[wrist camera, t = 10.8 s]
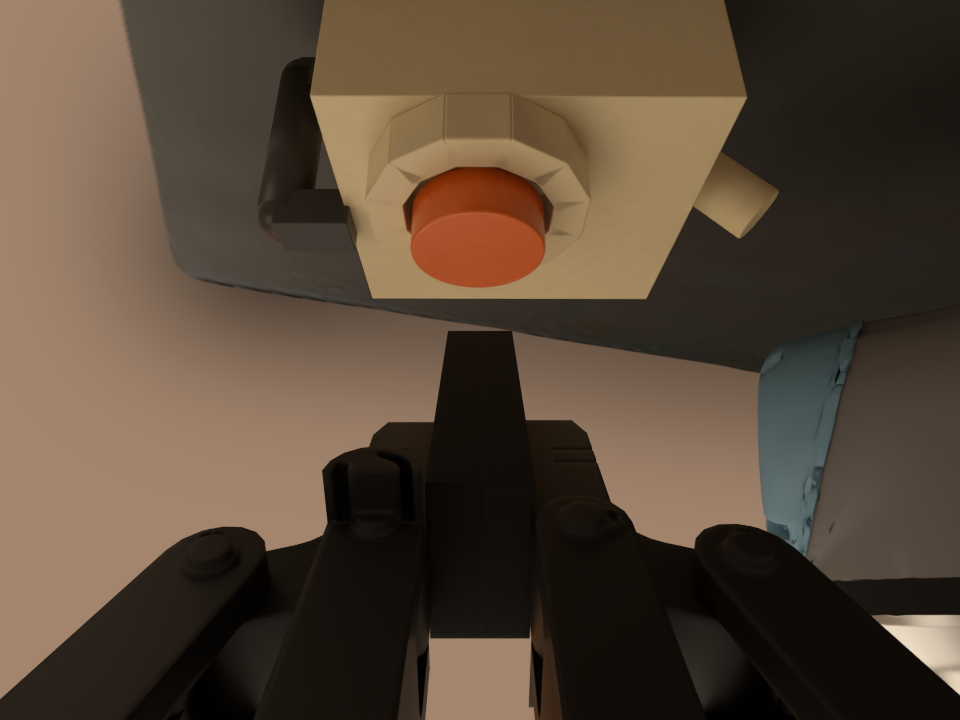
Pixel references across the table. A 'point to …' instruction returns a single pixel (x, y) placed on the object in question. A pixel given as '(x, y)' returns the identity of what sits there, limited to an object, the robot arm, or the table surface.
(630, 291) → the kettle
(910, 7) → the table surface
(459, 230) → the button
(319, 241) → the kettle handle and spout
